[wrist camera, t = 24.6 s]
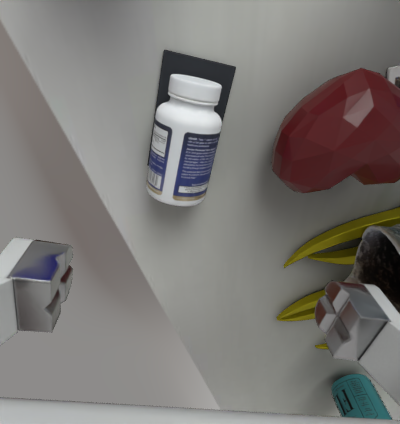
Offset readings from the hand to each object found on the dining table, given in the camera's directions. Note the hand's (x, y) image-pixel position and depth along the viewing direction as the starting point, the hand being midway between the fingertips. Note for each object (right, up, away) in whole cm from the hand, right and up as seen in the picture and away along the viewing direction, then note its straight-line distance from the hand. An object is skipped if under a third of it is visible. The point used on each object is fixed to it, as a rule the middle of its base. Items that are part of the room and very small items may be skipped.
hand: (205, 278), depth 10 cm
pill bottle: (-2, +4, +18) cm, 19 cm away
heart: (+12, +11, +19) cm, 25 cm away
